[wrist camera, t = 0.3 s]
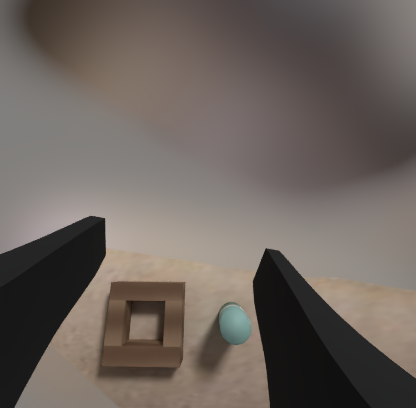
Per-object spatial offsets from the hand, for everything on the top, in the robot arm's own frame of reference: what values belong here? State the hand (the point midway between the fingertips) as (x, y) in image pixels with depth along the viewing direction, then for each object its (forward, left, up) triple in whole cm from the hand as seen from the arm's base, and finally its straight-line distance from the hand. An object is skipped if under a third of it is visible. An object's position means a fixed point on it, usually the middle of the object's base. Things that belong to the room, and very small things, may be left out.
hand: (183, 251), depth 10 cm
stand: (-8, +9, -29) cm, 31 cm away
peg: (-8, -4, -29) cm, 30 cm away
